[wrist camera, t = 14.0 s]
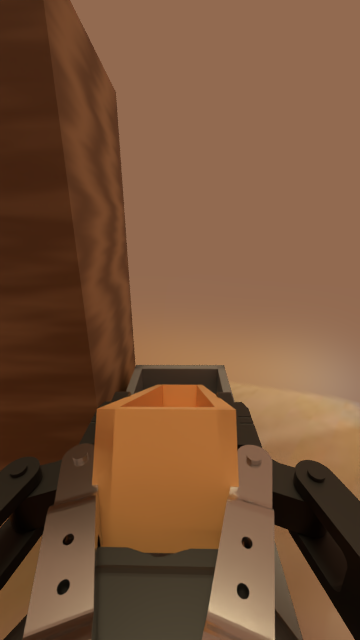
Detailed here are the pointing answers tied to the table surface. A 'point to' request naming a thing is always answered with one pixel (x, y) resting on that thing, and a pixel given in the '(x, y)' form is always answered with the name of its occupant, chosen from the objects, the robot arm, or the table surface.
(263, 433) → the table surface
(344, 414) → the table surface
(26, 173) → the walnut stand
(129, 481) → the narrow crate
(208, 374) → the charcoal crate
